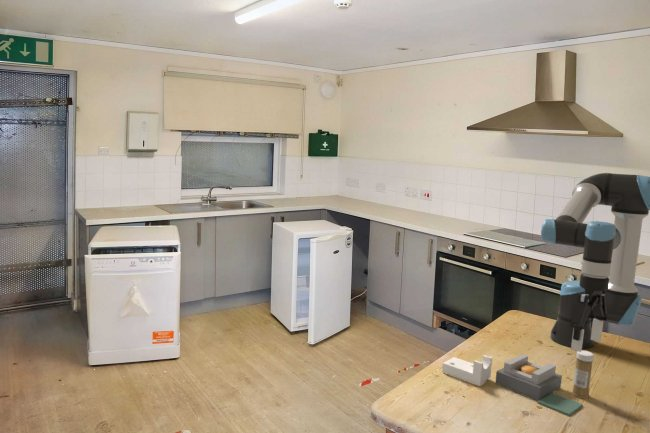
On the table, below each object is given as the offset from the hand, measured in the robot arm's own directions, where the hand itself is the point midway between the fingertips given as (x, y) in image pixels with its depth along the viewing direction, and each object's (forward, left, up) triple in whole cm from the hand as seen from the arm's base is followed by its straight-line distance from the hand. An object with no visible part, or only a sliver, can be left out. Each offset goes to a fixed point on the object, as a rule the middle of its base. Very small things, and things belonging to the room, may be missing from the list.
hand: (586, 345), depth 160 cm
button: (+7, -13, -13) cm, 20 cm away
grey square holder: (+7, -13, -16) cm, 22 cm away
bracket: (+17, -29, -16) cm, 37 cm away
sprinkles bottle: (0, 0, -16) cm, 16 cm away
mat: (+11, -1, -16) cm, 19 cm away
